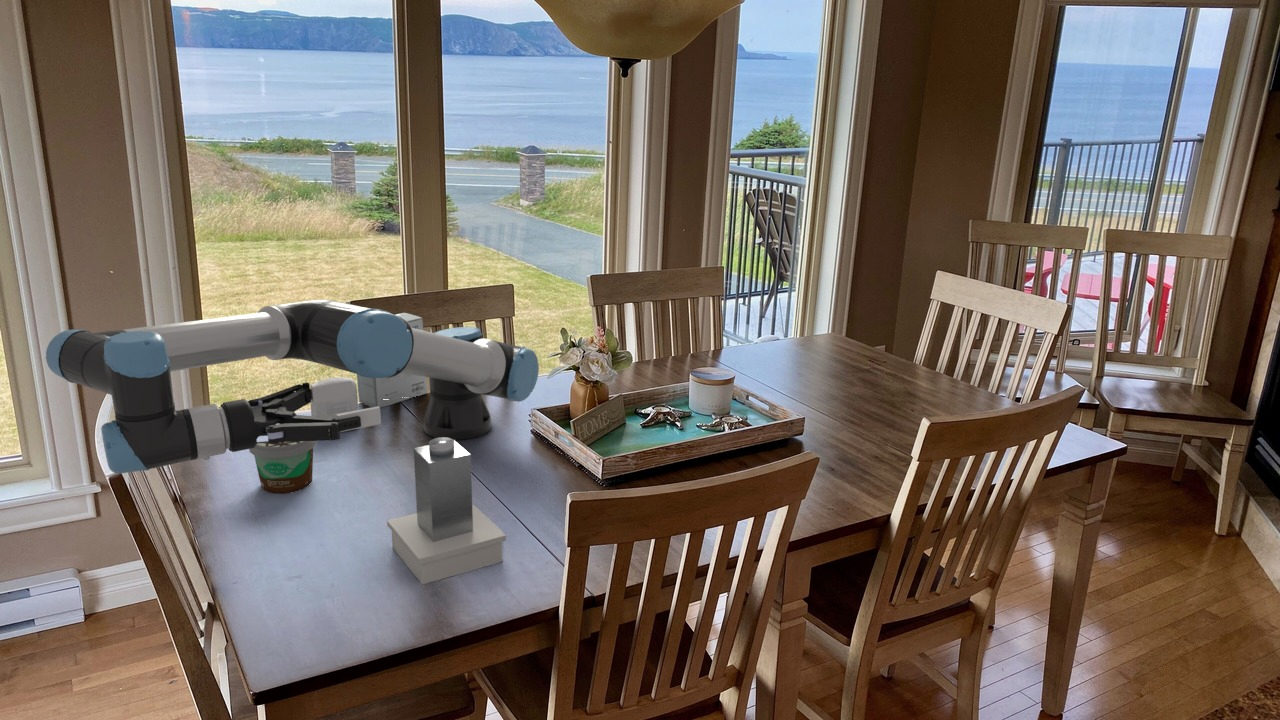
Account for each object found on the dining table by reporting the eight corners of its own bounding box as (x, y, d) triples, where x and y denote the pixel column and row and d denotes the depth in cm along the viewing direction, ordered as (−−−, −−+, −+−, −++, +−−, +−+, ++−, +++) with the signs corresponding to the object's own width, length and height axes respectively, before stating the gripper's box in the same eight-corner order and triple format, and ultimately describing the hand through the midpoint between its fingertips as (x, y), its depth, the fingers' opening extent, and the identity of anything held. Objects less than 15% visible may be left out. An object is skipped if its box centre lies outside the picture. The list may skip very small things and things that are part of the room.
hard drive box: (409, 387, 234) (405, 311, 228) (428, 394, 230) (424, 317, 223) (357, 402, 223) (351, 323, 217) (375, 410, 218) (370, 329, 212)
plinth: (469, 525, 165) (469, 500, 163) (506, 561, 153) (505, 535, 152) (388, 546, 157) (387, 520, 155) (420, 586, 145) (419, 559, 144)
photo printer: (356, 423, 210) (352, 372, 206) (362, 429, 206) (358, 377, 203) (310, 431, 204) (305, 379, 201) (315, 438, 201) (311, 385, 197)
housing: (456, 514, 158) (453, 431, 153) (473, 531, 152) (470, 445, 148) (417, 524, 154) (413, 439, 150) (433, 542, 149) (428, 453, 144)
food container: (249, 499, 172) (243, 450, 169) (253, 485, 178) (248, 438, 175) (318, 493, 175) (314, 445, 172) (320, 479, 181) (316, 433, 178)
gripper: (210, 424, 146) (343, 399, 158) (245, 482, 127) (394, 450, 138) (204, 379, 144) (340, 358, 155) (238, 433, 124) (390, 403, 136)
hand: (365, 401), depth 147 cm, fingers open, 13 cm apart
